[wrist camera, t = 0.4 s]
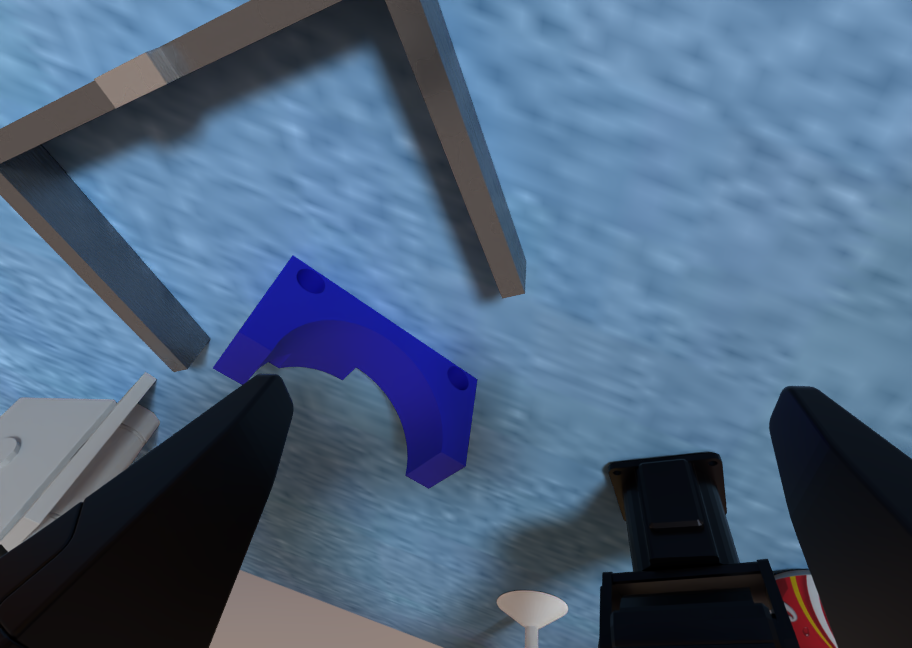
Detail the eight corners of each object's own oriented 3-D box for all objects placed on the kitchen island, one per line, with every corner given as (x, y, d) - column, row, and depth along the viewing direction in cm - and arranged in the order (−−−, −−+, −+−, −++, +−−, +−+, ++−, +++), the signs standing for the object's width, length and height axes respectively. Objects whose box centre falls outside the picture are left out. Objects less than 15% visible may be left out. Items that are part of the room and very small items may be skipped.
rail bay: (526, 261, 23) (524, 305, 21) (197, 342, 30) (165, 382, 27) (411, -76, 16) (387, -72, 13) (7, 129, 22) (-61, 158, 20)
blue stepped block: (257, 304, 27) (201, 384, 23) (294, 253, 25) (238, 331, 20) (431, 411, 31) (412, 498, 27) (477, 377, 29) (465, 466, 24)
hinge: (149, 369, 32) (28, 517, 24) (202, 422, 35) (108, 568, 28) (5, 398, 36) (-136, 531, 29) (64, 443, 39) (-50, 574, 32)
